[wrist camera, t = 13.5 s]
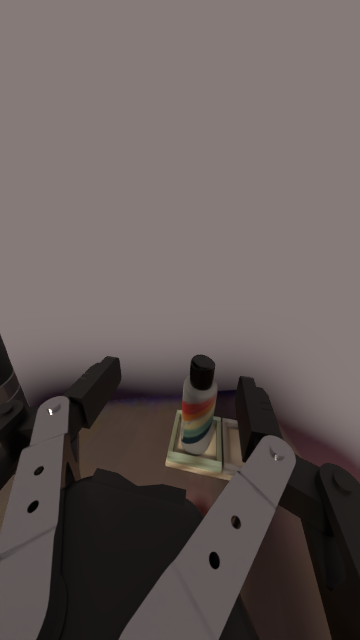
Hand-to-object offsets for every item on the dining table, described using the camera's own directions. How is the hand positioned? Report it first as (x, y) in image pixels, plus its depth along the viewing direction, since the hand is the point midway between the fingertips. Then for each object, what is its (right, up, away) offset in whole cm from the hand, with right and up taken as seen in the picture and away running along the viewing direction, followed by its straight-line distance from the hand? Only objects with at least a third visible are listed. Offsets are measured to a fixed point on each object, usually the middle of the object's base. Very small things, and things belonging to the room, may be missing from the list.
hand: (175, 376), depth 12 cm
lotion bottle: (+3, -21, +25) cm, 32 cm away
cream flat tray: (+8, -22, +24) cm, 34 cm away
